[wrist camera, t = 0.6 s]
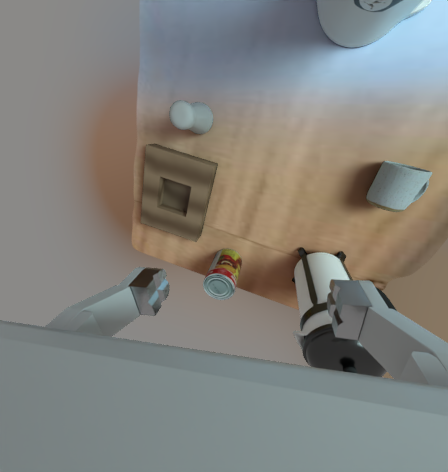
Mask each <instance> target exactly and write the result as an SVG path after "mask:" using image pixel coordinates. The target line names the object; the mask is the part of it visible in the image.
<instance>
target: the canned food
mask: <svg viewBox="0 0 448 472" xmlns="http://www.w3.org/2000/svg"><path fill="white" fill-rule="evenodd" d="M241 264H242V259H241V257H240V255H239V254H238V253H237V252H236V251H234V250H232V249H222V250H220V251H219V252H217V254H216V256H215V258H214V260H213V262H212V264H211V266H210V269H209V271H208V273H207V275H206V277H205V279H204V282H203V287H204V290H205V291H206V293H207V294H208V295H210V296H211V297H212V298H215V299H218V300H225V299H229V298H230V297H232V296H233V294H234V292H235V288H236V285H237V280H238V276H239V272H240V268H241Z"/></svg>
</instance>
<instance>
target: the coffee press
mask: <svg viewBox="0 0 448 472" xmlns="http://www.w3.org/2000/svg"><path fill="white" fill-rule="evenodd" d="M298 252H299V254H300V256H301V258H302V259H301V260H300V261H299V262H298V263H297V265H296V267H295V270H294V276H295V277H294V278H293V279H292V281H293V282H294V283H295V284H296V291H297V298H298V305H299V312H300V319H301V322H300V328H301V331H293V334H294V336H295V339H296V340H297V342H298V344H299V346H300V347H301V349H302V351H303V356H304V358H305V360H306V362H307V363H308V364H309V365H310V366H311V367H316V368H322V369H329V370H336V371H343V372H349V373H356V374H363V375H369V376H376V377H382V376H383V375H384V374H385V373H386V372H387V371H386V370H385V369H384V368H383V366H382V365H381V364H380V363H379V362H378V361H377V360H376V359H375V358H374V357H373V356H372V355H371V354H370V353H369V352H368V351H367V350H366V349H365V348H364V347H363V346H362V345H361V344H360V343H359V340H352V339H345V338H338V337H335V334H334V330H333V327H332V318H331V317H330V316H329V313H328V309H327V296H328V294H329V293H330V292H331V290H330V288H329V285H330V281H331V279H335V280H353V279H352V277H351V276H350V274H349V272H348V270H347V268H346V266H345V264H344V261H345V258H346V255H345V254H344V253H343V252H342V251H341V252H339V253H337V255H336V256H334V255H331V254H328V253H323V252H318V253H312V254H309V255H308V254H307V253H306V251H305V250H304V248H301V249H299V250H298ZM339 259H340V260H341V261H340V260H339ZM375 288H376V287H375ZM376 289H377V291H378V293H379V294H380V296H381V297H382V299H383V300H384V302H385V303H386V305H387V306H388V308H389V309H394V310H396V309H395V308H394V306H393V305H392V303H391V302H390V300H389V299H388V298H387V297H386V295H385V294H384V293H383V292H382V291H381V290H379V289H378V288H376ZM396 311H397V310H396Z"/></svg>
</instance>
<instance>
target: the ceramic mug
mask: <svg viewBox="0 0 448 472" xmlns="http://www.w3.org/2000/svg"><path fill="white" fill-rule="evenodd" d="M431 175H432V172H430V171H427V170H424V169H420V168H416V167H412V166H409V165H404V164H400V163H395V162H390V161H384V162H383V163H382V165H381V168H380V169H379V171H378V173H377V175H376V177H375V179H374V181H373V183H372V185H371V187H370V189H369V191H368V193H367V197H366V200H367V201H368V202H369V203H370V204H372V205H374V206H376V207H378V208H381V209H384V210H388V211H393V212H401V211H403V210H405V209H406V208H407V207H408V206H409V205H410V203H412V202H414V201H416V200H417V199H419V198H420V197H421V196H422V195H423V193H424V192H425V191H426V189H427V187H428V184H429V180H428V179H429V178H430V176H431Z"/></svg>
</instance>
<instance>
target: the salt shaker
mask: <svg viewBox="0 0 448 472" xmlns="http://www.w3.org/2000/svg"><path fill="white" fill-rule="evenodd" d="M169 116H170V121H171V122H172V124H173V125H174V126H175V127H177V128H178V129H181V130H187V129H189V130H191V131H192V132H194V133H196V134H203V133H206V132H208V130H209V129H210V128H211V127H212V123H213V114H212V112H211V110H210V108H209V107H208V106H207V105H206V104H204V103H201V102H195V103H191V104H189V103H188V102H186V101H181V100H179V101H177V102H175V103H173V104H172V106H171V107H170V112H169Z"/></svg>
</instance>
